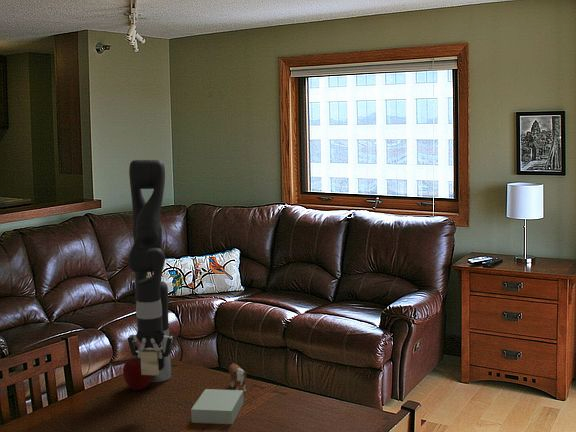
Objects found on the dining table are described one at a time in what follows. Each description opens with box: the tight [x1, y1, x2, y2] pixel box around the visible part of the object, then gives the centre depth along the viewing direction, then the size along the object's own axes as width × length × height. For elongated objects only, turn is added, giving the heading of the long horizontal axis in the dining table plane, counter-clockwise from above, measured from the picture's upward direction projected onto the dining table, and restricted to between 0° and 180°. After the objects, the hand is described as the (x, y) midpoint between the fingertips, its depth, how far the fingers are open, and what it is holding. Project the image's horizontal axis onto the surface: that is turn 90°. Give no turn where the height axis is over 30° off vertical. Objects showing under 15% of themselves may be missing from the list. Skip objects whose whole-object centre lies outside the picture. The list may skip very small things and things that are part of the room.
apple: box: [122, 357, 152, 391], centre depth 240 cm, size 10×10×10 cm
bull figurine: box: [228, 362, 248, 393], centre depth 238 cm, size 4×13×8 cm, turn 16°
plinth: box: [190, 388, 245, 425], centre depth 220 cm, size 16×12×4 cm
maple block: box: [140, 348, 163, 375], centre depth 221 cm, size 5×5×7 cm
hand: (152, 368), depth 221 cm, fingers closed on maple block, 5 cm apart
